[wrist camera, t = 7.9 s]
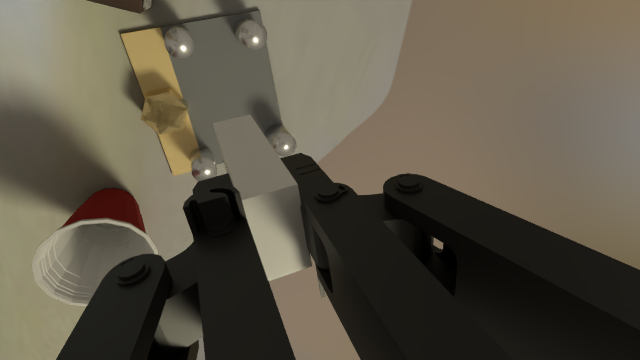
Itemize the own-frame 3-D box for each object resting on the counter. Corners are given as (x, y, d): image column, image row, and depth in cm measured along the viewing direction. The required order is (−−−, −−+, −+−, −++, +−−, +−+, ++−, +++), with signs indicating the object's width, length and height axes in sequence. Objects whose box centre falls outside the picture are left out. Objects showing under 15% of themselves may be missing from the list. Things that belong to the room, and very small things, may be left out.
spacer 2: (193, 168, 48) (195, 185, 43) (187, 148, 46) (188, 163, 42) (215, 162, 48) (219, 178, 44) (209, 143, 47) (213, 157, 43)
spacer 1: (170, 54, 41) (169, 61, 37) (161, 28, 40) (160, 31, 36) (195, 49, 42) (197, 55, 38) (187, 23, 40) (189, 26, 36)
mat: (173, 174, 47) (173, 175, 47) (120, 33, 39) (120, 34, 38) (285, 144, 50) (286, 145, 50) (259, 10, 42) (259, 10, 42)
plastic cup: (131, 257, 50) (121, 323, 40) (44, 222, 44) (7, 289, 34) (178, 196, 48) (180, 249, 38) (95, 152, 43) (71, 201, 33)
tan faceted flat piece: (149, 130, 43) (148, 137, 41) (135, 94, 41) (133, 99, 39) (192, 120, 45) (193, 126, 42) (181, 84, 42) (181, 89, 40)
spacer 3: (237, 46, 43) (244, 51, 39) (231, 21, 42) (237, 23, 38) (260, 42, 44) (269, 46, 40) (255, 16, 42) (264, 18, 38)
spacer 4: (267, 145, 50) (276, 158, 45) (263, 125, 48) (272, 138, 44) (287, 140, 50) (297, 153, 46) (283, 120, 49) (294, 132, 45)
